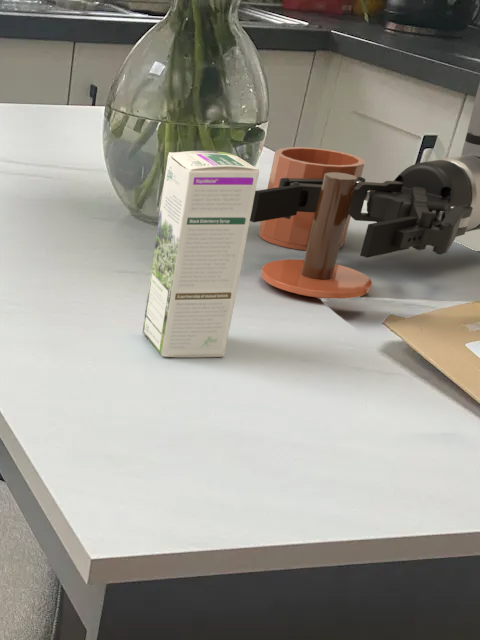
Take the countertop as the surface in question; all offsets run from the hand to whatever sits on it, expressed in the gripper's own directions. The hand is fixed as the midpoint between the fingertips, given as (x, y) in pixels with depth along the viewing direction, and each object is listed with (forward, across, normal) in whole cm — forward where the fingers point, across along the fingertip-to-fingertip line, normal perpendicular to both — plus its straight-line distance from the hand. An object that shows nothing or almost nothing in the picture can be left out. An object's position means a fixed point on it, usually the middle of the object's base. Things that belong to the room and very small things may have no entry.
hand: (308, 223), depth 100 cm
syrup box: (+21, -5, -7) cm, 22 cm away
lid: (-3, 0, -6) cm, 7 cm away
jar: (-17, +12, -6) cm, 22 cm away
